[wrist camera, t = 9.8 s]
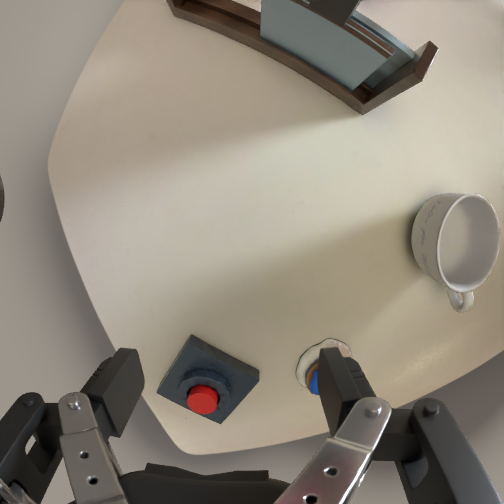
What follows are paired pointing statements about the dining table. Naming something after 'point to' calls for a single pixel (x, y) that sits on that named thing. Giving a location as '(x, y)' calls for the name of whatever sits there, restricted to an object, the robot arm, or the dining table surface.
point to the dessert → (316, 363)
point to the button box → (208, 377)
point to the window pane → (325, 37)
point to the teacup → (457, 243)
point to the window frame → (361, 98)
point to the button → (202, 399)
